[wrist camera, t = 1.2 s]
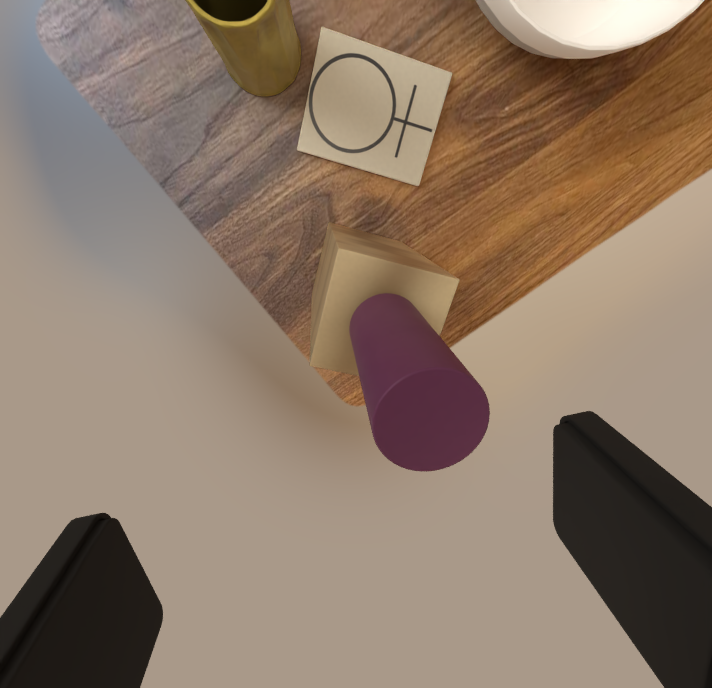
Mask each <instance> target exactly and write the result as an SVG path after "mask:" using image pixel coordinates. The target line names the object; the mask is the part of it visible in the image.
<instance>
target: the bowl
mask: <svg viewBox="0 0 712 688" xmlns="http://www.w3.org/2000/svg"><path fill="white" fill-rule="evenodd" d="M703 1H704V0H476V2H477V4H478V6H479V8H480V9H481V11H482V12H483V13H484V15H485V16H486V17H487V19H488V20H489V21H490V23H491V24H492V25H493V27H494V28H495V29H496V30H497V31H498V32H500V33H501V34H502V35H503V36H504V37H505V38H507V39H508V40H509V41H510V42H511V43H512V44H514V45H516V46H518V47H520V48H522V49H524V50H526V51H528V52H530V53H532V54H536V55H541V56H545V57H549V58H566V59H587V58H595V57H599V56H603V55H607V54H611V53H615V52H618V51H622V50H625V49H628V48H631V47H634V46H638V45H641V44H643V43H645V42H647V41H649V40H651V39H653V38H655V37H657V36H659V35H661V34H663V33H665V32H667V31H669V30H670V29H671V28H673V27H674V26H675V25H677V24H678V23H679V22H681V21H682V20H683V19H685V18H686V17H687V16H689V15H690V14H691V13H693V12H694V11H695V10H696V9H697V8H698V7H699V6H700V5H701V4H702V2H703Z"/></svg>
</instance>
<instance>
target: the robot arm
mask: <svg viewBox="0 0 712 688" xmlns="http://www.w3.org/2000/svg"><path fill="white" fill-rule="evenodd" d="M553 433H554V434H553V522H554V526H555V529H556V532H557V534H558V536H559V538H560V539H561V540H562V542H563V543H564V545H565V546H566V548H567V549H568V550H569V552H570V554H571V555H572V556H573V558H574V559H575V560H576V562H577V563H578V565H579V566H580V568H581V569H582V571H583V572H584V574H585V575H586V576H587V578H588V579H589V581H590V582H591V584H592V585H593V586H594V588H595V589H596V590H597V592H598V594H599V595H600V596H601V598H602V599H603V601H604V602H605V603H606V605H607V606H608V608H609V609H610V611H611V612H612V613H613V615H614V616H615V618H616V619H617V621H618V622H619V623H620V625H621V626H622V628H623V629H624V631H625V632H626V633H627V635H628V636H629V638H630V639H631V640H632V642H633V643H634V645H635V646H636V648H637V649H638V650H639V652H640V653H641V655H642V656H643V658H644V659H645V661H646V662H647V663H648V665H649V666H650V668H651V669H652V671H653V672H654V673H655V675H656V676H657V678H658V679H659V680H660V682H661V683H662V685H663V686H664V688H712V507H711V506H709V505H708V504H707V503H706V502H704V501H703V500H702V499H701V498H699V497H698V496H697V495H696V494H695V493H693V492H692V491H691V490H690V489H688V488H687V487H686V486H685V485H683V484H682V483H681V482H680V481H678V480H677V479H676V478H675V477H674V476H672V475H671V474H670V473H668V472H667V471H666V470H665V469H664V468H662V467H661V466H660V465H659V464H657V463H656V462H655V461H654V460H652V459H651V458H650V457H649V456H647V455H646V454H645V453H644V452H642V451H641V450H640V449H639V448H638V447H636V446H635V445H634V444H632V443H631V442H630V441H629V440H628V439H626V438H625V437H624V436H623V435H621V434H620V433H619V432H618V431H616V430H615V429H614V428H613V427H611V426H610V425H609V424H608V423H607V422H605V421H604V420H603V419H602V418H600V417H599V416H598V415H597V414H595V413H594V412H591V411H586V412H582V413H577V414H573V415H567V416H564V417H562V418H561V420H560V424H559V425H556V426H555V427H554V432H553ZM162 619H163V610H162V605H161V603H160V601H159V599H158V597H157V595H156V593H155V591H154V589H153V587H152V585H151V583H150V581H149V579H148V577H147V576H146V573H145V571H144V569H143V567H142V565H141V564H140V562H139V560H138V558H137V556H136V554H135V552H134V550H133V548H132V546H131V544H130V542H129V540H128V538H127V536H126V534H125V532H124V531H123V528H122V526H121V525H120V522H119V521H118V520H117V519H115V518H111V517H110V516H109V515H108V514H106V513H99V514H94V515H90V516H85V517H80V518H76V519H74V520H72V521H71V522H70V523H69V524H68V525H67V526H66V527H65V529H64V530H63V532H62V533H61V534H60V536H59V537H58V539H57V540H56V541H55V543H54V544H53V546H52V547H51V548H50V550H49V551H48V552H47V554H46V555H45V557H44V558H43V559H42V561H41V562H40V564H39V565H38V566H37V568H36V569H35V571H34V572H33V573H32V575H31V576H30V578H29V579H28V580H27V582H26V583H25V584H24V586H23V587H22V588H21V590H20V591H19V593H18V594H17V595H16V597H15V598H14V600H13V601H12V603H11V604H10V605H9V606H8V608H7V609H6V611H5V612H4V614H3V615H2V616H1V618H0V688H140V686H141V683H142V680H143V677H144V674H145V671H146V668H147V666H148V663H149V660H150V657H151V654H152V651H153V648H154V645H155V642H156V639H157V636H158V634H159V631H160V628H161V624H162Z"/></svg>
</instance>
